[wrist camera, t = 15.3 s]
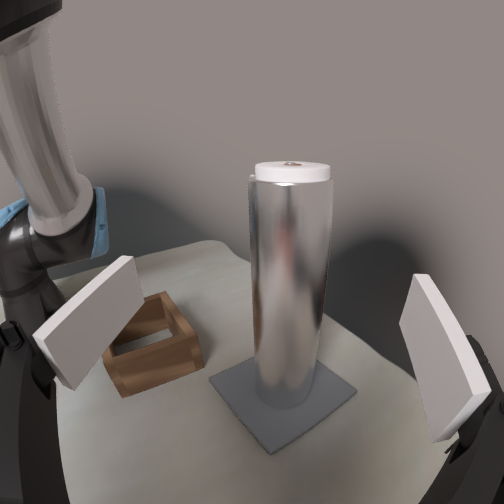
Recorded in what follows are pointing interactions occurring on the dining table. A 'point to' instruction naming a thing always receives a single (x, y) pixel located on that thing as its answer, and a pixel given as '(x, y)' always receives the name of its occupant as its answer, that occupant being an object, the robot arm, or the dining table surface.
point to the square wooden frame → (153, 348)
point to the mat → (280, 420)
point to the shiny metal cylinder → (288, 274)
